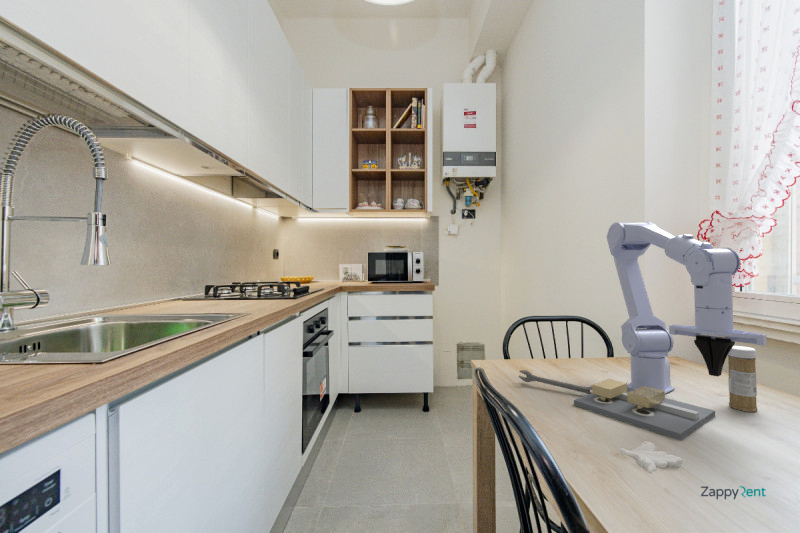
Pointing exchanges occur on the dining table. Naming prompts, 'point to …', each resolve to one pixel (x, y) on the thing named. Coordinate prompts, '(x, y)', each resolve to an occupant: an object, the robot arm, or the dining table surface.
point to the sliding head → (646, 397)
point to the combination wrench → (554, 382)
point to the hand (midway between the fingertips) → (715, 374)
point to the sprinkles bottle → (742, 378)
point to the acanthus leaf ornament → (652, 457)
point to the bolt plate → (645, 410)
